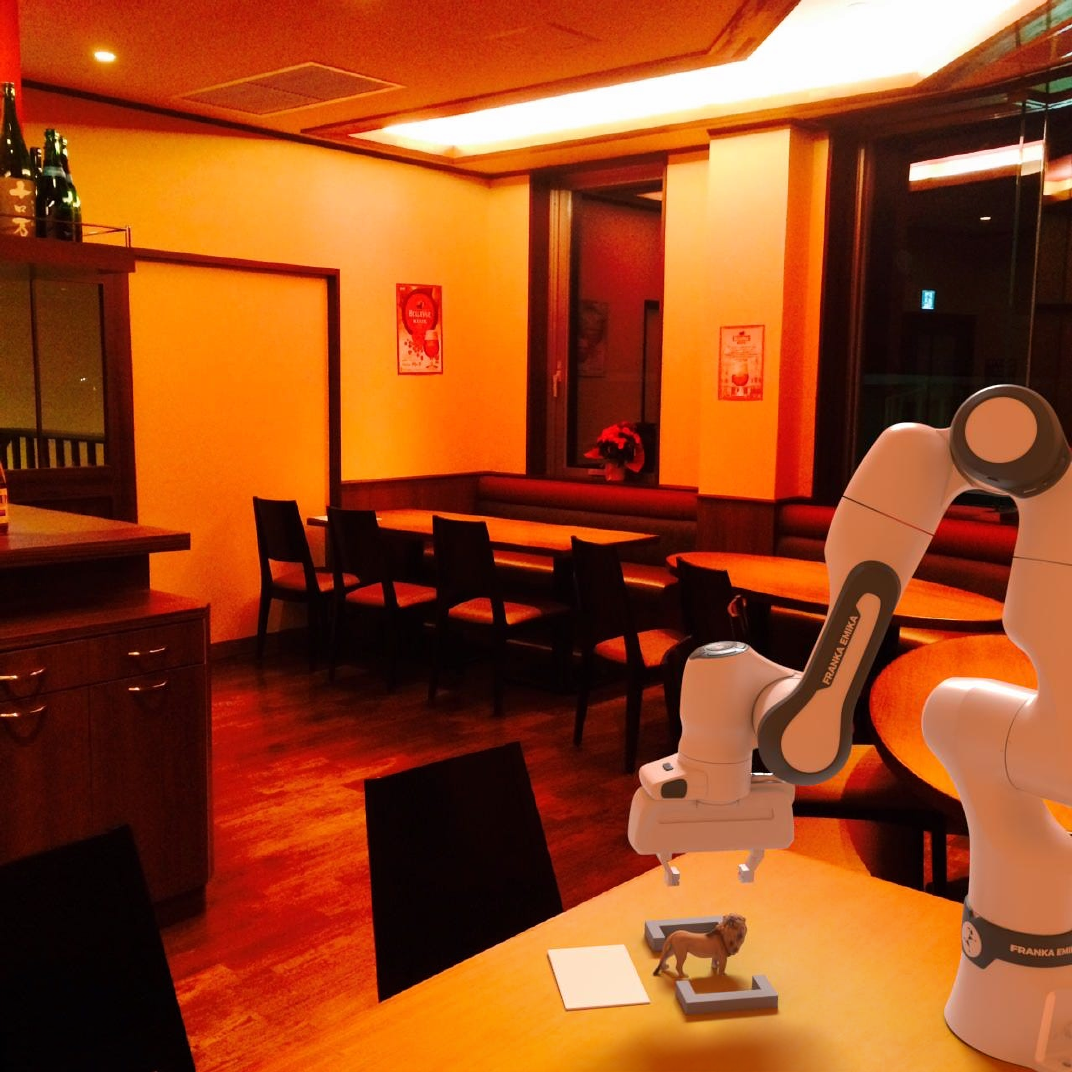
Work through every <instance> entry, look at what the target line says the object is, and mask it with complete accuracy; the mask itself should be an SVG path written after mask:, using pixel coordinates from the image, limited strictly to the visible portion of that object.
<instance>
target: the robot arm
mask: <svg viewBox="0 0 1072 1072" xmlns="http://www.w3.org/2000/svg"><path fill="white" fill-rule="evenodd" d="M1067 440H1068V439H1067V438H1066V435H1065V433H1064V430H1063V427H1062V424H1061V423H1060V420H1059V417H1058V416H1057V414H1056V412H1055V410H1054V408H1053V407H1052V406H1051V404H1050V403H1049V402H1048V401H1047V400H1046V399H1045V398H1044V397H1043V396H1042V395H1040V394H1039V393H1038V392H1036V391H1034V390H1032V389H1030V388H1028V387H1024V386H1022V385H1016V384H997V385H992V386H991V385H990V386H989V387H985V388H983V389H980V390H979V391H977V392H975V393H974V394H972V395H970V396H969V397H968V398H967V399H966V400H965V401H964V402H963V403H961V405H960V406H959V408H958V409H957V411H956V413H955V414H954V416H953V419H952V421H951V425H950V427H946V428H935V427H932V426H930V425H927V424H923V423H919V422H918V423H917V422H901V423H896V424H893V425H891V426H889V427H888V428H886V429H884V431H882V433H881V434H880V435H879V437H877V439H876V441H875V442H874V443H873V445H871V448H870V449H869V450H868V452H867V453H866V455H865V456H864V457H863V459H862V461H861V463H860V464H859V465H858V467H857V469H856V470H855V472H854V473H853V475H852V476H851V477H852V478H851V479H850V480H849V483H848V484H847V487H846V489H845V491H844V493H843V495H842V497H841V499H840V501H839V502H838V506H837V507H836V509H835V512H834V515H833V517H832V520H831V523H830V527H829V530H828V534H827V537H826V542H825V545H824V551H823V552H824V558H825V565H826V569H827V574H828V581H829V582H828V583H829V604H828V609H827V613H826V614H827V615H826V618H825V621H824V624H823V626H822V628H821V631H820V633H819V635H818V637H817V640H816V643H815V644H814V646H813V649H812V651H811V653H810V656H809V658H808V661H807V663H806V665H805V668H804V669H803V671H800V670H795V669H792V668H789V667H786V666H783V665H780V664H778V663H776V662H773V661H772V660H770V659H768V658H766V657H765V656H763V655H762V654H759V653H758V652H757V651H756V650H754V649H753V648H752V647H751V646H750V645H749V644H746V643H744V642H740V641H732V640H731V641H729V640H727V641H726V640H724V641H718V642H717V641H716V642H711V643H708V644H707V643H706V644H704V645H702V646H700V647H697V648H696V649H695V650H694V651H693V652H692V653H690V655H689V656H688V658H687V660H686V663H685V667H684V670H683V675H682V683H681V689H680V690H681V691H680V701H679V702H680V705H679V717H680V721H681V727H682V730H681V731H682V732H681V737H680V740H679V742H678V746H677V747H678V749H677V751H678V752H676V753H674V754H672V755H669V756H666V757H663V758H661V759H659V760H655V761H651V762H649V763H646V764H644V765H642V766H641V767H640V768H639V771H638V775H639V781H640V783H641V786H640V787H639V788H638V789H636V791H635V793H634V795H633V797H632V801H631V805H630V811H629V817H628V818H629V819H628V826H627V836H628V837H627V838H628V841H629V844H630V845H631V847H632V848H633V849H634V851H636V853H637V854H638V855H656V856H657V859H658V860H659V862H660V863H661V865H662V867H663V870H664V872H663V873H664V874H663V875H664V876H663V879H664V884H665V885H666V887H679V886H680V881H679V880H680V878H681V877H680V876H681V873H680V871H679V870H678V868H677V867H676V866H673V867H671V866H670V865H669V863H668V862H672V860H673V859H672V856H673V854H688V853H711V852H712V853H713V852H737V851H748V852H749V853H750V854H749V855H748V857H747V858H746V859H745V860H746V861H745V862H744V864H743V863H742V864H738V867H737V870H738V873H737V877H738V880H739V881H740V883H741V884H747V883H748V884H749V883H752V884H753V883H754V881H755V871H756V870H757V869H758V866H759V865H760V864H761V862H762V861H763V859H764V858H765V850H784V849H785V850H786V849H788V848H789V847H790V845H792V843H793V842H794V840H795V830H794V829H795V826H794V823H795V822H794V814H793V813H794V812H793V806H792V805H793V803H794V801H795V794H796V786H802V787H803V786H806V787H808V786H815V785H818V784H822V783H824V782H827V781H829V780H831V779H832V778H834V777H835V776H836V775H838V774H839V773H840V772H842V771H841V770H842V769H843V768H844V767H845V766H846V764H847V763H848V760H849V758H850V755H851V752H852V746H853V726H854V725H853V721H854V720H853V719H854V713H855V712H854V711H855V708H856V705H857V702H858V699H859V697H860V694H861V692H862V690H863V687H864V685H865V683H866V680H867V677H868V676H869V673H870V671H871V668H872V667H873V664H874V661H875V659H876V656H877V654H878V652H879V651H880V650H879V649H880V648H881V644H882V642H883V641H884V638H885V635H886V633H887V630H888V628H889V625H890V623H891V620H892V617H893V615H894V613H895V611H896V609H897V607H898V605H899V603H900V601H901V599H902V597H903V595H904V593H905V591H906V589H907V586H908V585H909V583H910V581H911V579H912V577H913V576H914V573H915V572H916V570H917V568H918V566H919V564H920V562H921V561H922V559H923V557H924V555H925V553H926V551H927V549H928V547H929V545H930V543H931V542H932V539H933V537H934V536H933V535H935V534H936V531H937V529H938V527H939V524H941V523H940V522H941V521H942V518H943V517H944V515H945V513H946V511H947V510H948V507H949V506H950V505H951V504H952V502H953V501H954V499H956V497H957V496H959V495H961V494H962V493H964V494H975V495H985V496H986V495H987V496H992V497H999V498H1001V497H1002V498H1011V499H1012V500H1013V501H1014V502H1015V504H1016V506H1017V510H1018V516H1019V517H1018V518H1019V520H1018V521H1019V522H1018V523H1019V524H1018V530H1017V531H1018V533H1017V536H1016V537H1017V539H1016V543H1015V548H1014V551H1013V552H1014V553H1013V558H1012V562H1011V568H1010V575H1009V579H1008V584H1007V589H1006V593H1005V594H1006V596H1005V601H1004V605H1003V611H1002V616H1001V619H1002V620H1001V621H1002V626H1003V629H1004V631H1005V634H1006V635H1007V637H1008V639H1009V640H1010V641H1011V642H1012V644H1014V645H1015V646H1017V648H1019V649H1020V650H1021V651H1022V652H1023V653H1024V654H1025V655H1026V656H1027V657H1028V658H1029V660H1030V662H1031V663H1032V666H1033V668H1034V672H1035V675H1036V679H1037V689H1032V688H1029V687H1025V686H1021V685H1017V684H1014V683H1011V682H1010V683H1009V682H1006V681H1002V680H998V679H997V680H996V679H994V678H985V677H967V676H966V677H961V676H960V677H958V676H957V677H956V676H953V677H949V678H947V679H945V680H942V682H940V683H939V684H938V685H937V686H936V687H935V688H934V689H933V690H932V691H931V692H930V693H929V695H928V696H927V698H926V700H925V703H924V705H923V709H922V713H921V723H920V724H921V731H922V735H923V739H924V741H925V744H926V747H927V748H928V749H929V750H930V752H931V753H932V754H933V755H934V756H935V757H936V758H937V760H938V761H939V762H940V764H941V765H942V766H943V769H945V771H946V773H947V774H948V775H949V778H950V780H951V781H952V783H953V786H954V788H955V790H956V791H957V794H958V797H959V799H960V802H961V805H962V808H963V811H964V813H965V818H966V822H967V827H968V834H969V882H968V893H967V895H965V897H964V900H963V907H962V908H963V909H962V915H961V916H962V918H961V929H960V930H961V931H960V933H961V935H960V937H961V956H960V961H959V964H958V965H959V966H958V970H957V973H956V978H955V981H954V984H953V987H952V990H951V992H950V994H949V997H948V1000H947V1002H946V1003H945V1007H944V1009H943V1015H944V1018H945V1022H946V1024H947V1025H948V1027H949V1028H950V1029H951V1031H952V1032H953V1033H954V1034H955V1035H956V1036H957V1037H958V1038H959V1039H961V1040H962V1041H964V1043H966V1044H967V1045H969V1046H970V1047H972V1048H973V1049H976V1050H978V1051H980V1052H981V1053H983V1054H986V1055H987V1056H989V1057H992V1058H996V1059H998V1060H1000V1061H1003V1062H1006V1063H1010V1064H1015V1065H1018V1066H1022V1067H1024V1068H1025V1067H1026V1068H1028V1069H1032V1070H1033V1071H1036V1072H1072V835H1071V834H1070V833H1069V832H1068V831H1067V830H1066V829H1065V828H1064V827H1063V826H1062V825H1061V824H1060V823H1059V822H1058V821H1057V820H1056V818H1055V817H1054V816H1053V815H1052V813H1051V811H1050V809H1049V808H1048V806H1047V805H1046V802H1045V800H1047V801H1051V802H1054V803H1056V804H1059V805H1063V806H1064V807H1067V808H1071V809H1072V450H1071V447H1070V445H1069V443H1068V441H1067ZM843 496H844V497H843ZM755 749H758V754H759V757H760V759H761V762H762V763H763V765H764V766H765V768H766V769H767V770H768V772H769V773H764V772H752V765H753V762H752V761H753V751H754V750H755ZM1044 799H1045V800H1044Z"/></svg>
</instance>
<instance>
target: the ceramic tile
mask: <svg viewBox="0 0 1072 1072" xmlns="http://www.w3.org/2000/svg"><path fill="white" fill-rule="evenodd" d="M547 956H548V959H549V962H550V965H551V968H552V971H553V975H554V978H555V981H556V984H557V986H558V990H559V992H560V995H561V996H560V997H561V999H562V1002H563V1006H564V1008H565V1011H575V1010H577V1011H578V1010H585V1009H596V1008H610V1007H622V1006H632V1005H633V1006H635V1005H645V1004H651V1001H650V999H649V996H648V994H647V992H646V990H645V987H644V985H643V984H642V980H641V978H640V976H639V975H638V972H637V969H636V967H635V965H634V963H633V960H632V958H631V957H630V954H629V952H628V949H627V948H626V946H625V944H611V945H595V946H584V947H583V946H581V947H570V948H569V947H568V948H557V949H555V948H553V949H547Z"/></svg>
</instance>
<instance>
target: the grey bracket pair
mask: <svg viewBox="0 0 1072 1072" xmlns="http://www.w3.org/2000/svg"><path fill="white" fill-rule="evenodd" d="M723 916H724V915H712V916H699V917H698V916H697V917H684V918H683V917H682V918H671V919H670V918H669V919H656V920H655V919H654V920H645V921H644V937H645V938H646V941H647V942H648V944H649V946H650V948H651V950H652V952H653V953H656V952H662V950H663V946H664V944H665V942H666V940H667V938H668V937H669V936H670V935H671V934H673V933H674V932H676V931H680V930H682V931H687V932H690V933H696V934H704V933H709V932H711V931H712V930H714V929H715V928H716V926H717V925H718V924H720V923H721V922H722V921H723ZM751 978H752V979H751V989H749V990H748V989H747V990H737V991H725V992H724V991H723V992H711V993H700V994H699V993H698V994H696V993H695V991H694V989H693V987H692V986H691V983H690V981H689V980H677V981H675V992H674V993H675V995H676V998H677V999H678V1002H679V1004H680V1006H681V1007H682V1010H683V1012H684V1013H685V1015H686V1016H691V1015H703V1014H714V1013H715V1014H716V1013H723V1012H725V1013H726V1012H737V1011H747V1010H748V1011H750V1010H751V1011H752V1010H761V1009H772V1008H773V1009H774V1008H778V1007H779V994H778V993H777V991H776V990H775V988H774V987H773V985H772V984H771V982H770V981H769V979H768V978H767V977H766V975H765V974H754V975H752V976H751Z"/></svg>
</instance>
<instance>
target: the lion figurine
mask: <svg viewBox="0 0 1072 1072" xmlns="http://www.w3.org/2000/svg"><path fill="white" fill-rule="evenodd" d="M722 916H723V921H722V922H721V923H720V924H718V925H717V926H716V928H715V929H714V930H712V931H711V932H709V933H704V934H696V933H690V932H687V931H682V930H680V931H676V932H674V933H673V934H671V935H670V936H669V937H668V938H667V939H665V944H664V946H663V950H662V951H661V955H660V959H659V963H658V965H657V967H655V970H654V971H653V972H652V974H654V975H657V974H659V973H660V972H661V970H662V969H664V970H666V969H669V968H670V965H669V964H668V963H667V961H668V959H670V958H671V957H673V956H675V960H676V964H675V970H676V971H677V974H678V975H679V977H680V978H683V979H687V978H689V977H690V976H689V974H687V973H684V970H683V968H684V964H685V962H686V960H687V957H688V953H689V954H691V955H692V956H693V957H696V958H699V959H711V963H710V964H711V967H712V968H714V969H718V970H717V971H718V974H719V976H723V977H725V976H727V973H726V972H725V971H726V968H727V962H728V958H730V957H732V956H736V954H737V953H738V952H740V949H741V947H742V945H743V944H744V942H745V938H746V935H747V932H748V928H747V924H746V922H747V921H746V920H747V919H746V917H744V916H743V915H742V914H739V913H736V912H731V913H727V914H726V915H722Z"/></svg>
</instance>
